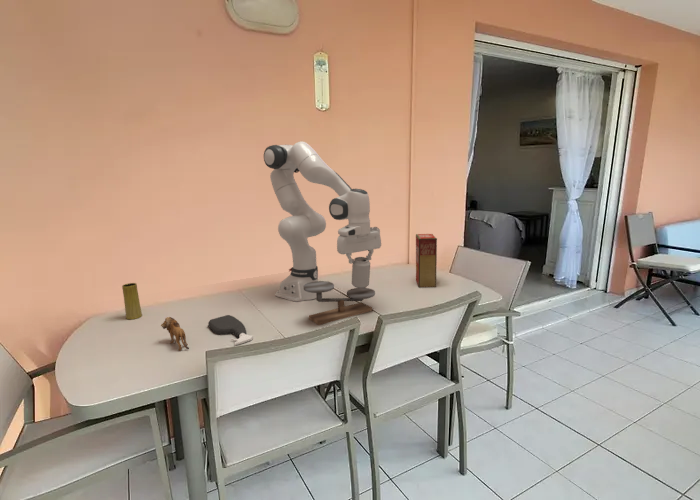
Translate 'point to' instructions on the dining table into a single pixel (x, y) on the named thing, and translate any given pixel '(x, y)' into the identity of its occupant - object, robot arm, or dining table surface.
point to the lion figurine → (175, 332)
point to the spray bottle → (230, 328)
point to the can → (360, 272)
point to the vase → (131, 301)
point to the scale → (342, 310)
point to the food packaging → (426, 260)
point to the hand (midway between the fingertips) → (360, 261)
